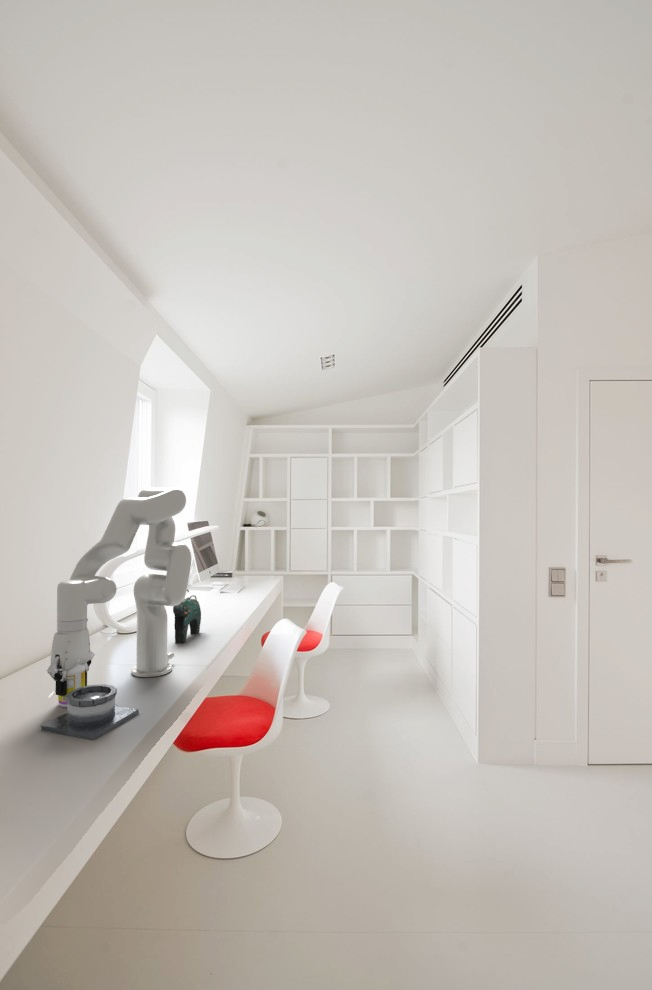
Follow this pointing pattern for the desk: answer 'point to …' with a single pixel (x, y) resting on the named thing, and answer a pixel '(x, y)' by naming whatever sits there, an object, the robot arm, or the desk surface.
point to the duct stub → (90, 713)
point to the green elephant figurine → (186, 618)
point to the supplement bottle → (73, 681)
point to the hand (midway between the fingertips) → (71, 689)
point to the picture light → (52, 693)
